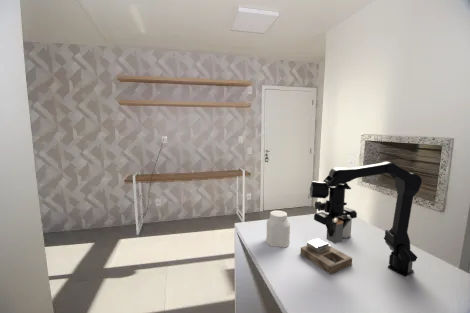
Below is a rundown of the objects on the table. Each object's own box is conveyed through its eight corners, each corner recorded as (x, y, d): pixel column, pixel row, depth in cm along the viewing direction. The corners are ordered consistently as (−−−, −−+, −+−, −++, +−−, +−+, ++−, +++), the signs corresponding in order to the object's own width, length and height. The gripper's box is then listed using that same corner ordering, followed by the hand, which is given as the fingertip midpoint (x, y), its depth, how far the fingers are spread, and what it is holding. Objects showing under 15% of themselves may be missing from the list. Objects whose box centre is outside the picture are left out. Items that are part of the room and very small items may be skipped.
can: (347, 232, 119) (348, 211, 118) (353, 238, 112) (354, 216, 110) (333, 231, 120) (334, 210, 118) (338, 238, 112) (339, 216, 111)
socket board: (351, 264, 89) (352, 258, 89) (330, 274, 83) (330, 266, 83) (320, 246, 103) (320, 240, 103) (300, 253, 98) (300, 247, 97)
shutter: (330, 249, 95) (330, 243, 95) (319, 253, 92) (319, 247, 91) (317, 242, 101) (317, 236, 101) (306, 246, 98) (307, 240, 98)
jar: (265, 246, 104) (266, 216, 102) (266, 236, 114) (267, 209, 112) (290, 248, 102) (291, 217, 100) (288, 238, 112) (289, 210, 110)
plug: (333, 237, 92) (334, 217, 91) (342, 241, 89) (343, 221, 88) (326, 239, 91) (327, 219, 90) (334, 243, 87) (336, 222, 86)
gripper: (336, 191, 99) (334, 224, 101) (304, 196, 91) (303, 231, 93) (358, 198, 89) (356, 234, 91) (326, 204, 81) (323, 243, 83)
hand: (334, 235), depth 89 cm, fingers closed on plug, 4 cm apart
